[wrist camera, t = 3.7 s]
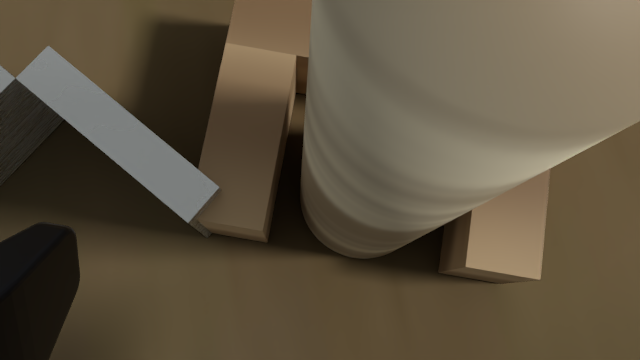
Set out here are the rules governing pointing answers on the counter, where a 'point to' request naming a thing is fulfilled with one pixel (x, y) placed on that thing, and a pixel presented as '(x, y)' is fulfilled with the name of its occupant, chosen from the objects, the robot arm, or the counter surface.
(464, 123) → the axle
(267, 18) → the tan flat block
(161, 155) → the v block
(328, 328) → the counter surface
